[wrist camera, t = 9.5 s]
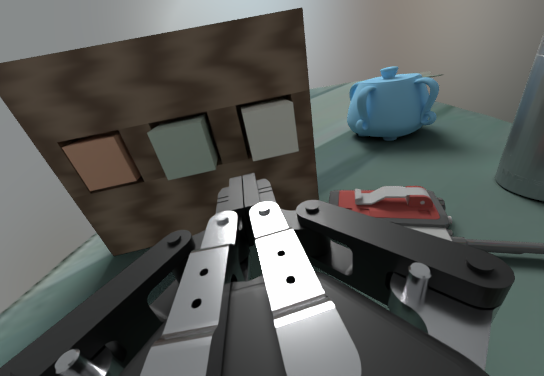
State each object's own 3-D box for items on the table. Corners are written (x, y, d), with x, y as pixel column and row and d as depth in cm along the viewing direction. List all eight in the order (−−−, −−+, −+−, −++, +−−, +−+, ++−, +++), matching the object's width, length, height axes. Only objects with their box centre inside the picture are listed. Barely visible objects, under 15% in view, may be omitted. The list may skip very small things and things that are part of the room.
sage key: (218, 155, 27) (205, 114, 25) (215, 169, 23) (200, 121, 21) (177, 164, 27) (160, 123, 25) (168, 180, 23) (146, 133, 21)
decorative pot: (418, 120, 56) (426, 58, 49) (437, 141, 43) (452, 60, 36) (349, 126, 61) (348, 71, 55) (347, 146, 48) (346, 77, 42)
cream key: (289, 140, 28) (283, 97, 25) (298, 151, 24) (292, 102, 21) (250, 148, 28) (240, 106, 25) (253, 161, 24) (242, 113, 21)
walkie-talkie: (315, 251, 24) (568, 273, 18) (312, 219, 22) (598, 230, 16) (323, 205, 32) (505, 208, 25) (321, 177, 29) (519, 173, 23)
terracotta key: (149, 165, 28) (131, 127, 26) (136, 180, 25) (113, 136, 22) (110, 174, 28) (87, 136, 26) (90, 191, 24) (61, 147, 22)
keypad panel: (307, 188, 36) (288, 20, 25) (319, 206, 31) (302, 7, 20) (130, 230, 34) (31, 68, 23) (113, 256, 29) (-21, 67, 19)
